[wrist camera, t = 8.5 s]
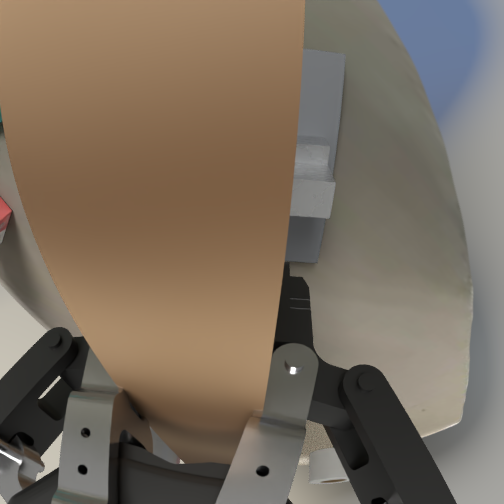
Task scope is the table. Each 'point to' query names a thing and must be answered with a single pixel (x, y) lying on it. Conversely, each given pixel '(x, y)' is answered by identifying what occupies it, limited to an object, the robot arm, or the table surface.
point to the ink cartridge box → (3, 218)
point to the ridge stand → (315, 153)
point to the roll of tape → (326, 467)
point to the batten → (161, 191)
